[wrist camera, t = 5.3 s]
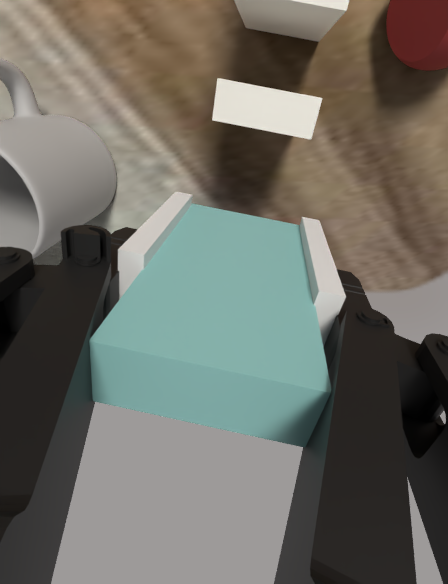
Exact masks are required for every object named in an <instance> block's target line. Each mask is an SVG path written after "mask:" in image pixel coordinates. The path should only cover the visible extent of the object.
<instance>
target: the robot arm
mask: <svg viewBox="0 0 448 584" xmlns="http://www.w3.org/2000/svg"><path fill="white" fill-rule="evenodd" d="M191 203H192V195H191V194H186V193H181V192H175V193H174V194H173V195H172V196H171V197H170V198H169V199H168V200H167V201H166V202H165V203H164V204H163V205H162V206H161V207H160V208H159V209H158V210H157V211H156V212H155V213H154V214H153V215H152V216H151V217H150V218H149V219H148V220H147V221H146V222H145V223H144V224H143V225H142V226H141V227H140V228H139V229H138V230H137V229H132V228H128V227H125V228H122V229H119V230H116V231H115V232H114V233H112V234H111V235H110V232H109V231H107V230H106V229H104V228H101V227H97V226H92V225H77V226H71V227H68V228H65V229H63V230H62V231H61V242H62V253H63V259H62V261H61V263H60V264H59V265H34V264H33V257H32V254H31V253H30V252H29V251H28V250H25V249H21V248H14V247H0V584H51V581H52V576H53V572H54V568H55V564H56V559H57V556H58V552H59V547H60V543H61V539H62V535H63V531H64V527H65V523H66V518H67V515H68V511H69V506H70V502H71V498H72V494H73V490H74V486H75V481H76V478H77V474H78V469H79V465H80V461H81V457H82V453H83V449H84V445H85V441H86V437H87V433H88V428H89V424H90V420H91V416H92V412H93V408H94V404H95V401H93V396H92V379H91V361H90V344H89V341H90V338H91V337H92V336H93V334H94V333H95V332H96V330H97V329H98V328H99V326H100V325H101V324H102V322H103V321H104V320H105V318H106V317H107V316H108V314H109V313H110V312H111V310H112V309H113V308H114V306H115V305H116V304H117V302H118V301H119V300H120V298H121V297H122V296H123V294H124V293H125V292H126V290H127V289H128V288H129V286H130V285H131V284H132V282H133V281H134V280H135V278H136V277H137V276H138V274H139V273H140V272H141V270H144V268H145V267H146V266H147V264H148V263H149V262H150V260H151V259H152V258H153V256H154V255H155V253H156V252H157V251H158V249H159V248H160V247H161V245H162V244H163V243H164V241H165V240H166V239H167V237H168V236H169V235H170V233H171V232H172V231H173V229H174V228H175V226H176V225H177V224H178V222H179V221H180V220H181V218H182V217H183V216H184V214H185V213H186V212H187V210H188V209H189V208H190V206H191ZM299 228H300V233H301V239H302V244H303V250H304V255H305V260H306V266H307V271H308V277H309V282H310V287H311V293H312V298H313V304H314V305H315V307H316V312H317V317H318V322H319V327H320V333H321V338H322V343H323V348H324V353H325V358H326V364H327V369H328V374H329V379H330V384H331V389H332V390H331V394H330V396H329V398H328V400H327V402H326V404H325V407H324V409H323V411H322V413H321V415H320V417H319V419H318V421H317V423H316V426H315V428H314V430H313V432H312V434H311V436H310V438H309V440H308V443H307V445H306V447H303V451H302V456H301V461H300V465H299V470H298V475H297V480H296V484H295V489H294V493H293V498H292V503H291V507H290V512H289V517H288V521H287V526H286V531H285V536H284V540H283V544H282V549H281V554H280V558H279V563H278V568H277V572H276V577H275V582H274V584H416V572H415V561H414V549H413V538H412V527H411V516H410V505H409V492H408V481H407V477H408V480H409V483H410V486H411V489H412V492H413V494H414V497H415V500H416V503H417V506H418V509H419V512H420V515H421V518H422V521H423V524H424V527H425V530H426V533H427V536H428V539H429V542H430V545H431V548H432V551H433V554H434V557H435V560H436V563H437V566H438V569H439V572H440V575H441V578H442V581H443V584H448V337H447V336H444V335H441V334H429V335H426V337H425V338H424V340H423V341H422V343H421V344H418V343H416V342H413V341H411V340H408V339H405V338H403V337H401V336H398V335H396V334H395V333H394V326H393V324H392V322H391V321H390V320H389V319H388V318H387V317H386V316H385V315H383V314H381V313H380V312H378V311H376V310H373V309H372V308H371V306H370V303H369V301H368V299H367V297H366V295H365V292H364V290H363V289H362V285H361V283H360V281H359V279H357V278H356V277H355V276H354V275H353V274H352V273H351V272H347V271H342V270H337V269H336V267H335V264H334V261H333V258H332V255H331V253H330V250H329V247H328V244H327V241H326V238H325V235H324V233H323V230H322V227H321V224H320V221H319V220H315V219H310V218H305V217H302V220H301V223H300V226H299ZM443 411H445V414H446V424H444V423H443V421H442V419H441V417H440V415H441V413H442V412H443Z"/></svg>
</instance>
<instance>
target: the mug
mask: <svg viewBox="0 0 448 584" xmlns="http://www.w3.org/2000/svg"><path fill="white" fill-rule="evenodd" d="M0 80H1V81H2V82H3V83H4V84H5V86H6V87H7V89H8V91H9V93H10V96H11V99H12V103H13V107H14V116H13V118H11V119H8V120H0V247H14V248H21V249H25V250H28V251H29V252H30V253H31V254H32V257H33V259H34V258H36V257H37V256H39V255H40V254H42V253H43V252H44V251H46V250H47V249H49V248H50V247H52V246H53V245H55V244H56V243H57V242H59V241H60V240H61V231H62V230H63V229H65V228H68V227H71V226H77V225H84V224H85V223H87V222H88V221H90V220H91V219H93V218H94V217H96V216H98V215H99V214H100V213H102V212H103V211H104V210H105V209H106V208H107V207H108V206H109V204H110V203H111V201H112V199H113V197H114V194H115V190H116V184H117V175H116V168H115V164H114V161H113V158H112V156H111V154H110V152H109V150H108V148H107V146H106V145H105V143H104V142H103V141H102V139H101V138H100V137H99V136H98V135H97V134H96V133H95V132H94V131H93V130H92V129H91V128H90V127H88V126H87V125H85V124H84V123H82V122H80V121H78V120H76V119H74V118H71V117H68V116H63V115H41V113H40V110H39V107H38V104H37V101H36V98H35V95H34V93H33V90H32V88H31V85H30V83H29V81H28V79H27V78H26V76H25V75H24V73H23V72H22V71H21V70H20V69H19V68H18V67H17V66H15V65H14V64H12V63H10V62H9V61H7V60H4V59H2V58H0Z"/></svg>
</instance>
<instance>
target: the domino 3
mask: <svg viewBox="0 0 448 584" xmlns="http://www.w3.org/2000/svg"><path fill="white" fill-rule="evenodd" d="M321 102H322V98H319V97H314V96H309V95H303V94H298V93H293V92H288V91H283V90H277V89H272V88H267V87H262V86H257V85H251V84H246V83H241V82H236V81H231V80H225V79H220V78H218V79H217V87H216V95H215V102H214V110H213V118H212V120H214V121H219V122H224V123H229V124H234V125H239V126H244V127H249V128H255V129H260V130H265V131H270V132H275V133H280V134H285V135H290V136H296V137H301V138H306V139H311V138H312V134H313V131H314V127H315V123H316V120H317V116H318V112H319V109H320V105H321Z"/></svg>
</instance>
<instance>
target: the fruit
mask: <svg viewBox="0 0 448 584" xmlns="http://www.w3.org/2000/svg"><path fill="white" fill-rule="evenodd" d="M386 28H387V36H388V41H389V44H390V46H391V48H392V50H393V52H394V54H395V55H396V56H397V58H398V59H399V60H400V61H402V62H403V63H404V64H406V65H407V66H409V67H412V68H414V69H418V70H425V71H431V70H439V69H444V68H447V67H448V0H390V3H389V7H388V12H387V22H386Z"/></svg>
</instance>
